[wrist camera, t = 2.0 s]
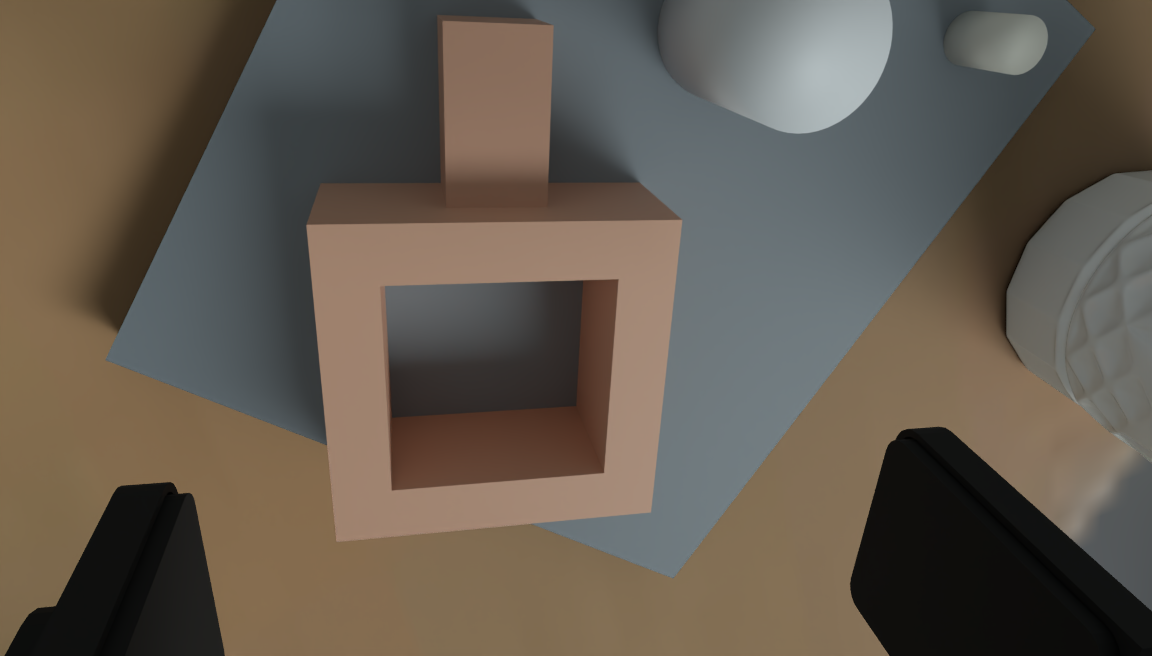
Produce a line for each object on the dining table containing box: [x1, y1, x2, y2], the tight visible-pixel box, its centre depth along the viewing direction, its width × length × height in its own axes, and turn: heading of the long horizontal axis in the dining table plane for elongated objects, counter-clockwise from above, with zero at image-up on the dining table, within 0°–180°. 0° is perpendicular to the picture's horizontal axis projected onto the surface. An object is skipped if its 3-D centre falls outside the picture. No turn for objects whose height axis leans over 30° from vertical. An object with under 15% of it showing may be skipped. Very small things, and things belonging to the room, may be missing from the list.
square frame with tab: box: [306, 15, 682, 542], centre depth 17 cm, size 10×7×3 cm
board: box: [106, 0, 1095, 578], centre depth 17 cm, size 18×16×5 cm
